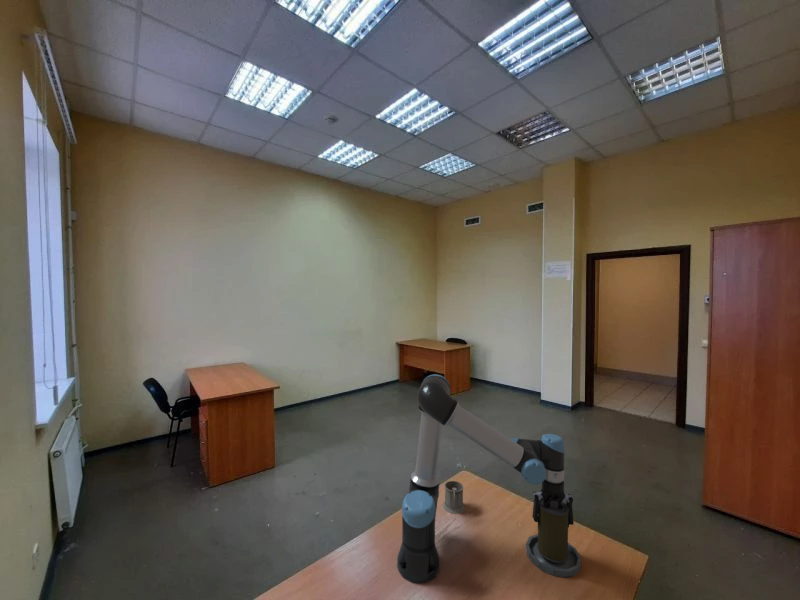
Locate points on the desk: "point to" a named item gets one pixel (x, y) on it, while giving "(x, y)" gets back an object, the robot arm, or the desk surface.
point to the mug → (453, 497)
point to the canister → (553, 531)
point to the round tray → (556, 569)
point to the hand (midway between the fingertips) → (552, 540)
